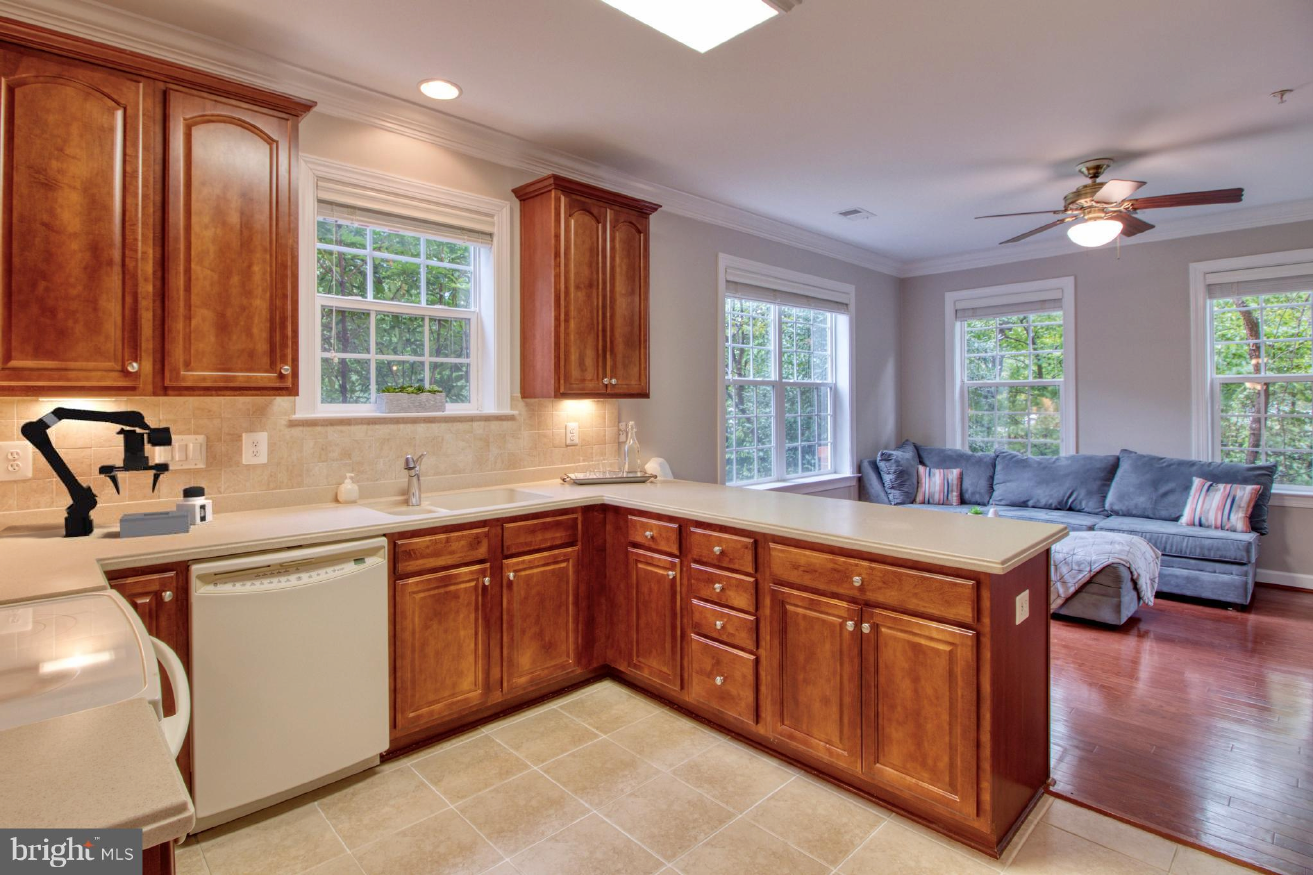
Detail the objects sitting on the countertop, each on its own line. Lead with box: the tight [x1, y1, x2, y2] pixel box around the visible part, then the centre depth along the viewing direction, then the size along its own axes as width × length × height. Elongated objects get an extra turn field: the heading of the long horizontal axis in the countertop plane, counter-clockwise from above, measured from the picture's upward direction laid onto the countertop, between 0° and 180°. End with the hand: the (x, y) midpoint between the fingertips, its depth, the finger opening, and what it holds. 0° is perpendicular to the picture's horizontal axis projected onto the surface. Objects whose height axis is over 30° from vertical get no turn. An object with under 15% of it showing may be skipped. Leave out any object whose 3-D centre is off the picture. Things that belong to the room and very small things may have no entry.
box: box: [119, 509, 191, 539], centre depth 228 cm, size 18×12×6 cm, turn 122°
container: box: [175, 485, 213, 526], centre depth 245 cm, size 8×8×13 cm
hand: (136, 493), depth 233 cm, fingers open, 9 cm apart
